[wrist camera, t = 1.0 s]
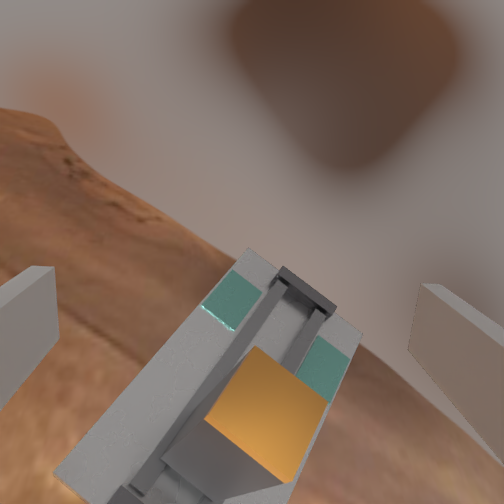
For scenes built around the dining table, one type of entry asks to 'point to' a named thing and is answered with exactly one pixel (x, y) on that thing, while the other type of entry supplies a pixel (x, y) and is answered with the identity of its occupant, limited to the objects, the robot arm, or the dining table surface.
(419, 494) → the dining table surface
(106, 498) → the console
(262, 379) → the fader knob
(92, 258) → the dining table surface
